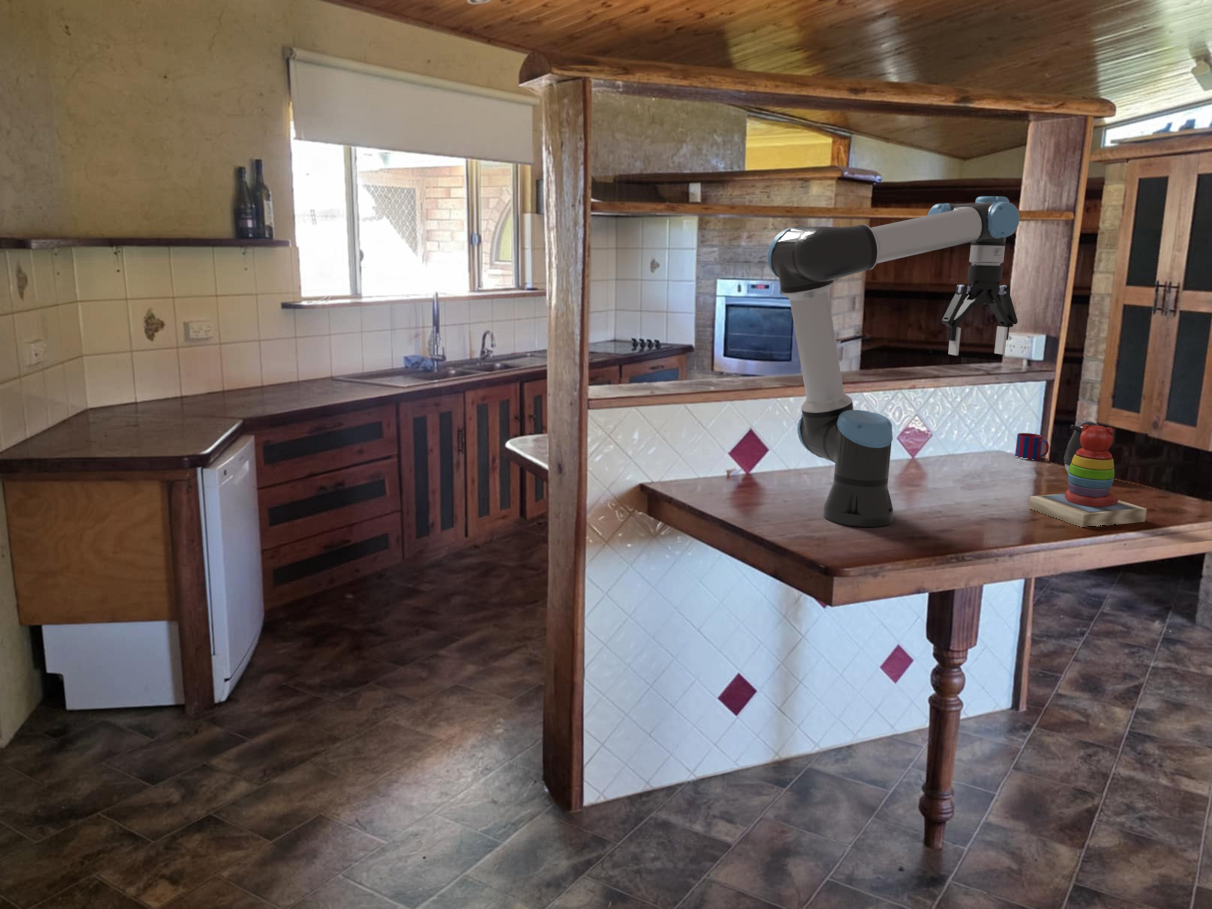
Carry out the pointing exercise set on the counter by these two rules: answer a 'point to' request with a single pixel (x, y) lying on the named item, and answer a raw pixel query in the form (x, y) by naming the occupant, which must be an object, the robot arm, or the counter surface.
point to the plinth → (1087, 511)
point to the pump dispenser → (1074, 444)
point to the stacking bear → (1092, 469)
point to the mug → (1030, 446)
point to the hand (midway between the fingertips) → (976, 354)
